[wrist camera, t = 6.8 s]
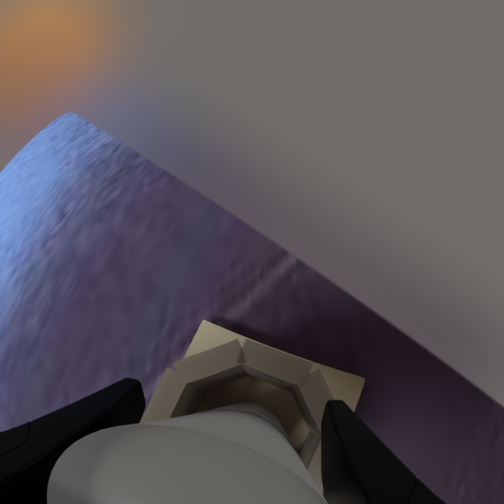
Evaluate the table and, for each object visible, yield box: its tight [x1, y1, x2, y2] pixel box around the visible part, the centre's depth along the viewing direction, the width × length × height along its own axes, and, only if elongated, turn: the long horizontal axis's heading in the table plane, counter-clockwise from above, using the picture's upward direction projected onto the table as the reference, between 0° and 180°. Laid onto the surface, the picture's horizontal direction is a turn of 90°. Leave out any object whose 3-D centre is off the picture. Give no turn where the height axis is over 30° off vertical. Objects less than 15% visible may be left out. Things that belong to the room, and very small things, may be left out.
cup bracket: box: [140, 320, 366, 495], centre depth 12 cm, size 10×10×5 cm
